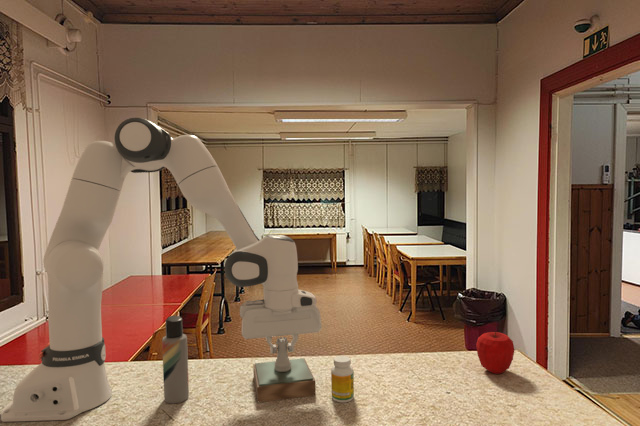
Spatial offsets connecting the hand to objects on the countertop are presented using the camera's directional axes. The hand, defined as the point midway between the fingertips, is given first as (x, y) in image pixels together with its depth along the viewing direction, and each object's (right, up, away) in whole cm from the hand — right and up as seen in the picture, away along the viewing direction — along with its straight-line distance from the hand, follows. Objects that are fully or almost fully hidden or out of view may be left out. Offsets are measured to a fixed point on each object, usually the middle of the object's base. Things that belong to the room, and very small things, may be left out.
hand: (282, 351), depth 110 cm
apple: (+57, -8, +7) cm, 58 cm away
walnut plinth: (0, -9, 0) cm, 9 cm away
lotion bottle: (-25, -10, -5) cm, 28 cm away
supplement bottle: (+15, -9, -7) cm, 19 cm away
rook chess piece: (0, -5, +1) cm, 5 cm away
